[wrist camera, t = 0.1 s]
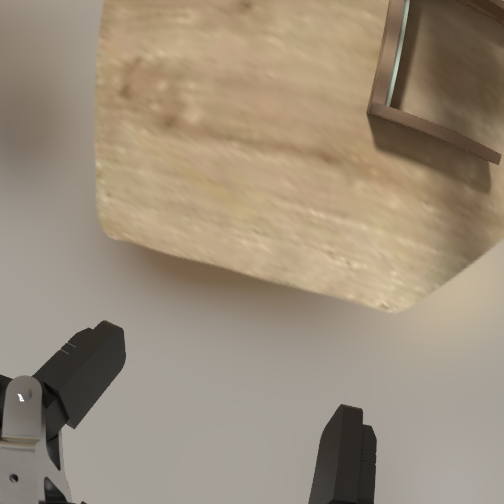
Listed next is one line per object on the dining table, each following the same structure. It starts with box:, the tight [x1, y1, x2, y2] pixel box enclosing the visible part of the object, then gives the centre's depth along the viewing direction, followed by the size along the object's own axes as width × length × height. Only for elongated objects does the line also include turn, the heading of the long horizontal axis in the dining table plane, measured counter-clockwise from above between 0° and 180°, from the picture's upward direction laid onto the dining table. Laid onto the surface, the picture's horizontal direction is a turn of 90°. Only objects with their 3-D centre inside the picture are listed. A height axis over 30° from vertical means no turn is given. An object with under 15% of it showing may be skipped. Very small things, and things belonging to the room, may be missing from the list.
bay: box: [367, 0, 504, 165], centre depth 24 cm, size 19×15×4 cm
